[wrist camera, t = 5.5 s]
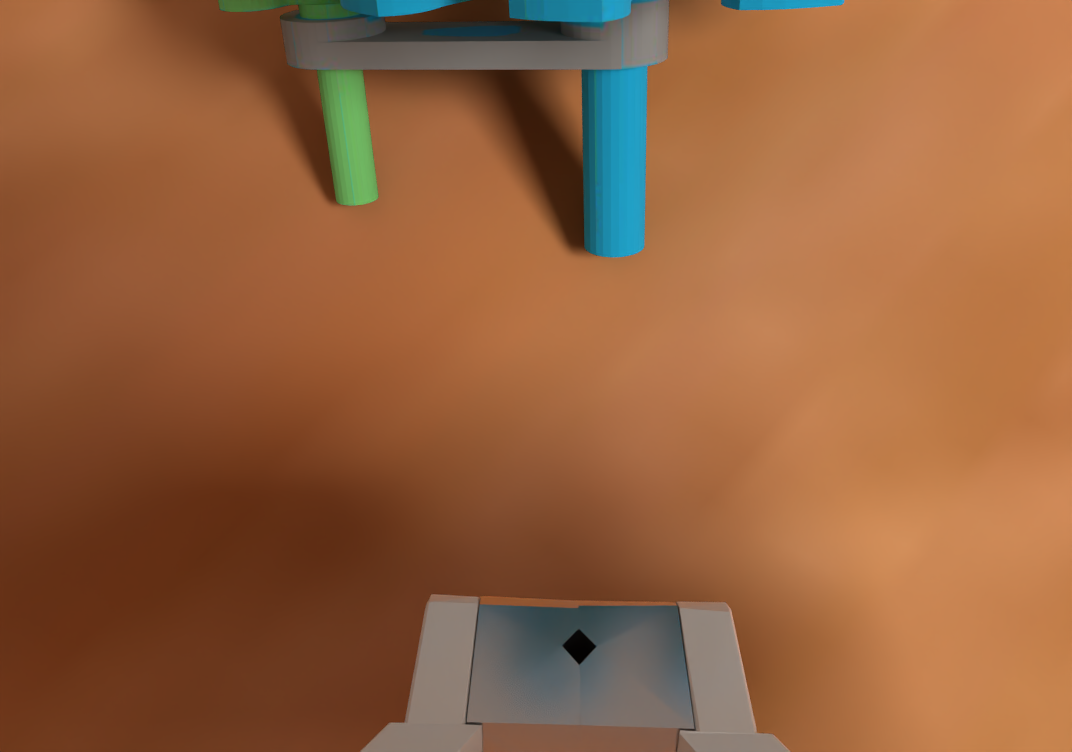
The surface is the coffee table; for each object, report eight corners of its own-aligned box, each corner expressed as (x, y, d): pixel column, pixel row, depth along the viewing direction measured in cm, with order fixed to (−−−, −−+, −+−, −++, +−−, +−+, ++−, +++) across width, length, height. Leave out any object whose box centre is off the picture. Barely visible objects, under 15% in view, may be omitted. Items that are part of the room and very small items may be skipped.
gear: (930, -170, 17) (1124, -158, 8) (883, 162, 20) (993, 419, 11) (332, -145, 19) (-3, -115, 10) (369, 154, 22) (132, 369, 13)
